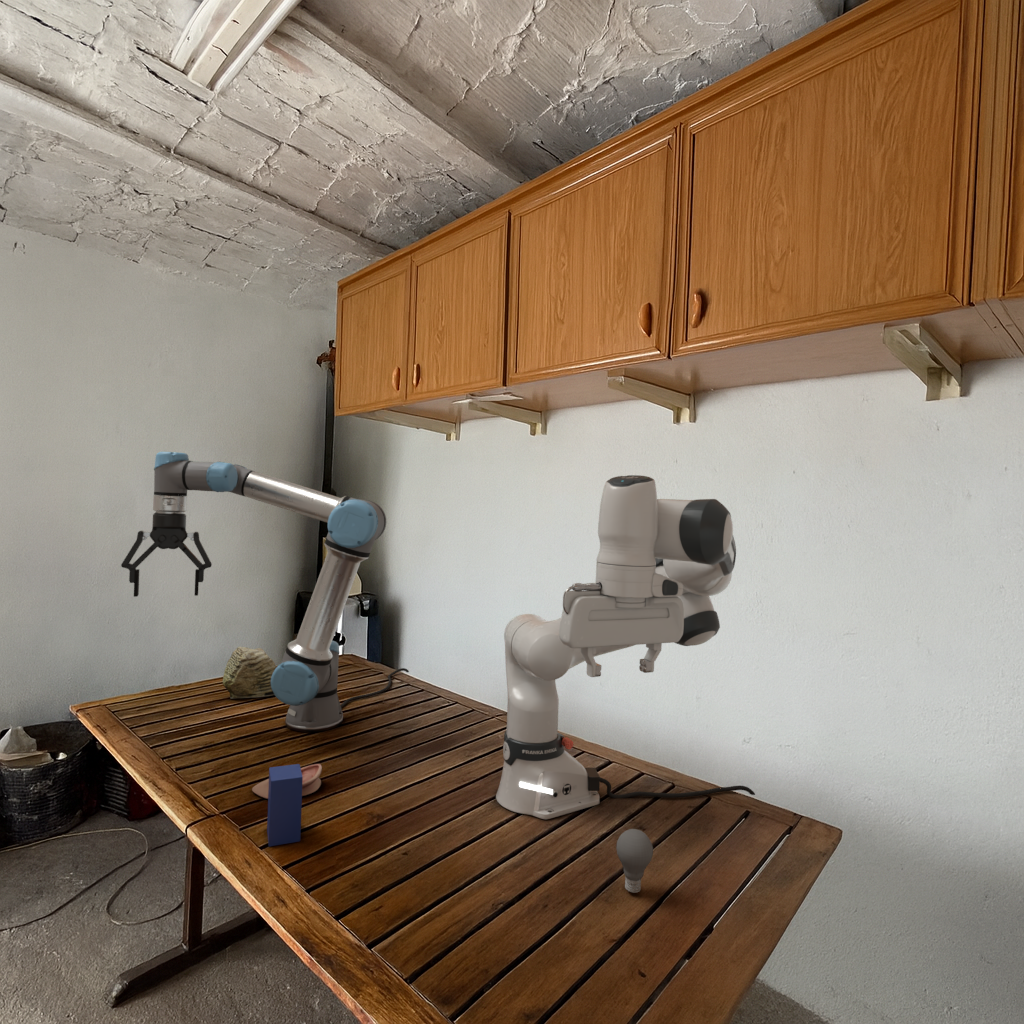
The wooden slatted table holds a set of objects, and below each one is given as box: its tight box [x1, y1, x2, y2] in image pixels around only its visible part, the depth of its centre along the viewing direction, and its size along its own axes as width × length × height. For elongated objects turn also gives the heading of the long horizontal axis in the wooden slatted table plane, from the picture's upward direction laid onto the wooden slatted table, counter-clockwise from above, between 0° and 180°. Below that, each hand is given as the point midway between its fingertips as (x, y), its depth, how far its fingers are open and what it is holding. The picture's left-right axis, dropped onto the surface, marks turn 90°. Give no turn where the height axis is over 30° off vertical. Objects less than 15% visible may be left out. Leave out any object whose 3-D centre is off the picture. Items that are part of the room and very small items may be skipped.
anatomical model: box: [251, 763, 323, 800], centre depth 137 cm, size 13×4×12 cm
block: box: [266, 763, 303, 847], centre depth 118 cm, size 6×6×12 cm
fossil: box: [222, 646, 277, 699], centre depth 198 cm, size 9×18×15 cm, turn 132°
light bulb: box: [615, 828, 654, 894], centre depth 106 cm, size 6×6×10 cm
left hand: (166, 595), depth 162 cm, fingers open, 13 cm apart
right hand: (620, 673), depth 96 cm, fingers open, 8 cm apart
